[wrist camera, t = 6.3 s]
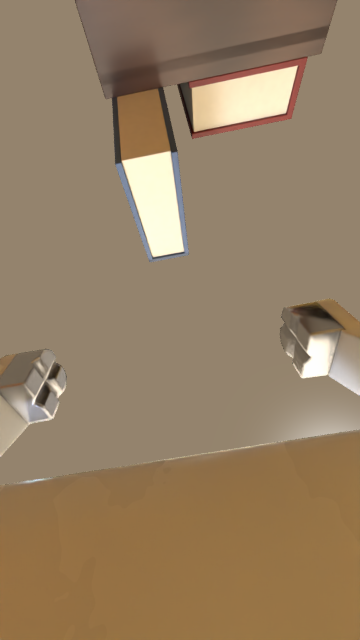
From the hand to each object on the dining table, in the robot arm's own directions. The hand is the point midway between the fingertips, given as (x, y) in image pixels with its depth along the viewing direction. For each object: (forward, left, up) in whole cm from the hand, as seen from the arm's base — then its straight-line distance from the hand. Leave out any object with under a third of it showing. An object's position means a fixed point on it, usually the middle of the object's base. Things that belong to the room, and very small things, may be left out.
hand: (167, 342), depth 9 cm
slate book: (0, +23, +1) cm, 23 cm away
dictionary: (-8, +27, +1) cm, 28 cm away
